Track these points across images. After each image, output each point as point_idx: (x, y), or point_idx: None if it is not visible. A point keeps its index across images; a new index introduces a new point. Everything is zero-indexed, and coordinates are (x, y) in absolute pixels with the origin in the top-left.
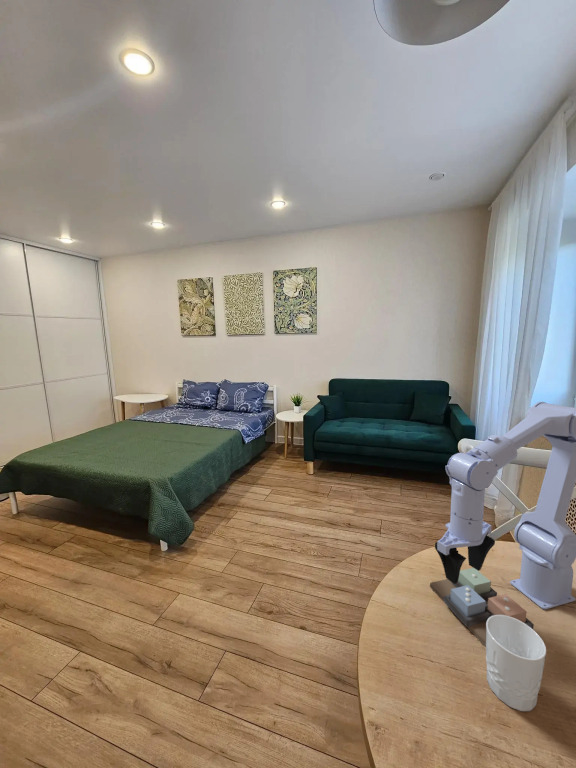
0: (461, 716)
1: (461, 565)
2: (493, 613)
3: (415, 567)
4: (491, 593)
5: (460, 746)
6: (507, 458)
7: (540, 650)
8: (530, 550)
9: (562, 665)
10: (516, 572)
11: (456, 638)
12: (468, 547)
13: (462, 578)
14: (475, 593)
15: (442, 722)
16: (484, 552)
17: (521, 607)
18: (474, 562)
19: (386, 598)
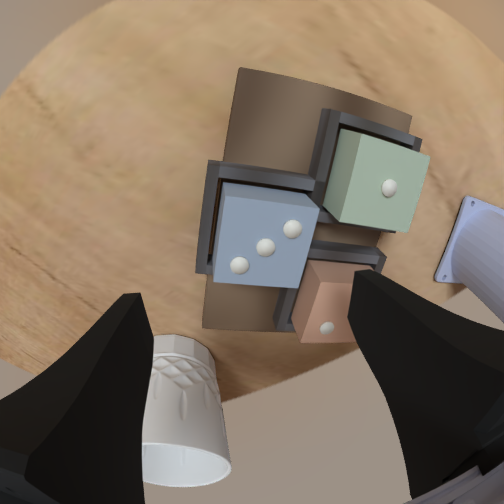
0: (58, 353)
1: (139, 465)
2: (304, 280)
3: None
4: (379, 228)
5: (40, 368)
6: None
7: (212, 463)
8: None
9: (316, 361)
10: (500, 182)
11: (150, 259)
12: (420, 330)
13: (348, 155)
14: (302, 250)
15: (28, 346)
16: (398, 432)
17: None
18: (366, 317)
19: (47, 70)
